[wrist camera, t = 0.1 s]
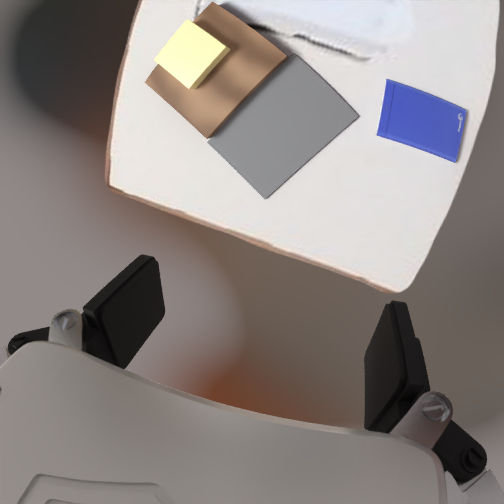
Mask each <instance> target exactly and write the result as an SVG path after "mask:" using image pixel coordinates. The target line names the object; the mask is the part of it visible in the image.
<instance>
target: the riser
mask: <svg viewBox="0 0 504 504" xmlns="http://www.w3.org/2000/svg"><path fill="white" fill-rule="evenodd" d="M193 22H194V23H195V24H197V25H198V26H200V27H201V28H202V29H204V30H205V31H207V32H208V33H209V34H211V35H212V36H214V37H215V38H216V39H218V40H219V41H220V42H222V43H223V44H224V45H226V46H227V47H228V48H230V49H231V50H230V51H229V52H228V53H227V54H226V55H225V56H224V58H223V59H222V60H221V61H220V62H219V63H218V64H217V65H216V66H215V67H214V68H213V70H212V71H211V72H210V73H209V74H208V75H207V76H206V77H205V79H204V80H203V81H202V82H201V83H200V84H199V86H198V87H197V88H196V89H188V88H187V87H186V86H185V85H184V84H182V83H181V82H180V81H179V80H178V79H177V78H175V77H174V76H173V75H172V74H171V73H169V72H168V71H167V70H166V69H164V68H163V67H162V66H161V65H160V64H158V65H157V66H156V67H155V69H154V70H153V71H152V73H151V74H150V76H149V77H148V78H147V80H146V81H145V83H146V84H147V85H148V86H149V87H151V88H152V89H153V90H154V91H155V92H156V93H157V94H159V95H160V96H161V97H162V98H163V99H164V100H165V101H166V102H168V103H169V104H170V105H171V106H172V107H173V108H174V109H175V110H176V111H177V112H179V113H180V114H181V115H182V116H183V117H184V118H185V119H186V120H187V121H188V122H189V123H191V124H192V125H193V126H194V127H195V128H196V129H197V130H198V131H199V132H200V133H201V134H202V135H203V136H204V137H206V138H207V139H208V138H211V137H212V136H213V135H214V134H215V133H216V132H217V131H218V129H219V128H220V127H221V126H222V125H223V124H224V123H225V122H226V121H227V120H228V118H229V117H230V116H231V115H232V114H233V113H234V112H235V111H236V110H237V109H238V108H239V107H240V106H241V105H242V103H243V102H244V101H245V100H246V99H247V98H248V97H249V96H250V95H251V94H252V93H253V92H254V91H255V90H256V89H257V88H258V87H259V86H260V85H261V84H262V83H263V82H264V81H265V80H266V79H267V78H268V77H269V76H270V75H271V74H272V73H273V72H274V71H275V70H277V69H278V68H279V67H280V66H281V65H282V64H283V63H284V62H285V61H286V60H287V59H288V57H287V55H285V54H284V53H283V52H282V51H281V50H279V49H278V48H277V47H276V46H274V45H273V44H272V43H271V42H269V41H268V40H267V39H266V38H264V37H263V36H262V35H260V34H259V33H258V32H256V31H255V30H254V29H252V28H251V27H250V26H248V25H247V24H245V23H244V22H243V21H241V20H240V19H238V18H237V17H235V16H234V15H232V14H231V13H229V12H228V11H226V10H225V9H223V8H222V7H220V6H219V5H217V4H216V3H214V2H212V3H211V4H210V5H209V6H208V7H207V8H206V9H205V10H204V11H203V12H202V13H201V14H200V15H199V16H198V17H197V18H196V19H195V20H194V21H193Z"/></svg>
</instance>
